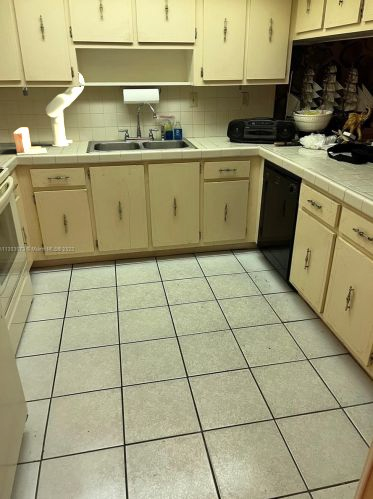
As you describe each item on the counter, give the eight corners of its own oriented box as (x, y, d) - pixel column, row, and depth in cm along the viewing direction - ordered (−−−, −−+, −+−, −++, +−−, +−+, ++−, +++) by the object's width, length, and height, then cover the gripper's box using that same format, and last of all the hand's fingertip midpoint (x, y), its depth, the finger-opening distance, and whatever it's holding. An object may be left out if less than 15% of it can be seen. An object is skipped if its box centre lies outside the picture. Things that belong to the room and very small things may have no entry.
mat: (45, 148, 284) (45, 146, 284) (47, 153, 263) (46, 151, 263) (17, 149, 277) (17, 147, 277) (16, 155, 257) (16, 153, 256)
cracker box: (31, 146, 282) (25, 153, 264) (23, 146, 281) (16, 153, 263) (28, 127, 275) (21, 132, 257) (20, 127, 274) (12, 132, 256)
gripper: (27, 68, 270) (31, 95, 277) (26, 69, 282) (30, 95, 290) (16, 68, 267) (20, 96, 275) (16, 69, 279) (20, 95, 287)
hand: (25, 95), depth 282 cm, fingers closed
